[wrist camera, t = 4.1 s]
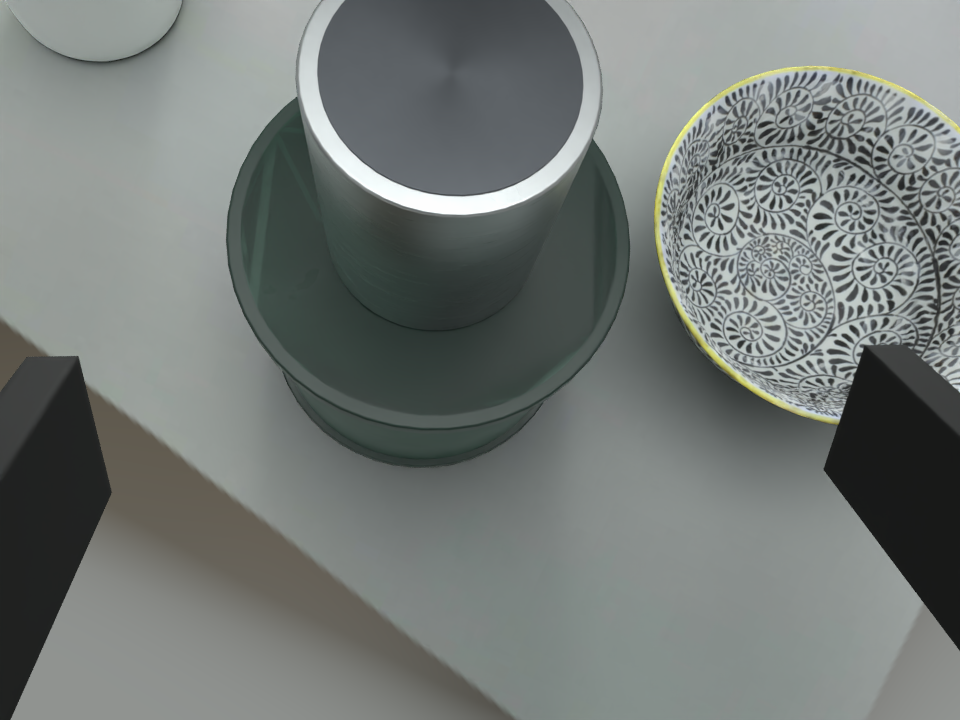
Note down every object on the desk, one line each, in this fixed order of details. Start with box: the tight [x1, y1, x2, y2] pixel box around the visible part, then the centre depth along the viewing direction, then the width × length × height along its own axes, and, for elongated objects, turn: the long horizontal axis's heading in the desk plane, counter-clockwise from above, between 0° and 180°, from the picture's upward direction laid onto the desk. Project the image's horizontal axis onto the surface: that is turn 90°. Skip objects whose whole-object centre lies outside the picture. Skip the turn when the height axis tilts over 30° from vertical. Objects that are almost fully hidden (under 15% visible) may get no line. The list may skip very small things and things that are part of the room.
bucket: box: [226, 97, 630, 468], centre depth 33 cm, size 14×14×11 cm
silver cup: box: [296, 0, 603, 331], centre depth 23 cm, size 7×7×9 cm
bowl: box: [654, 66, 960, 425], centre depth 36 cm, size 16×16×8 cm
